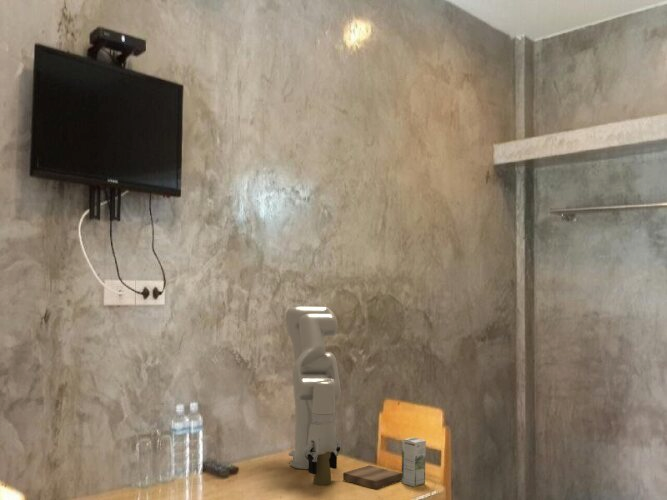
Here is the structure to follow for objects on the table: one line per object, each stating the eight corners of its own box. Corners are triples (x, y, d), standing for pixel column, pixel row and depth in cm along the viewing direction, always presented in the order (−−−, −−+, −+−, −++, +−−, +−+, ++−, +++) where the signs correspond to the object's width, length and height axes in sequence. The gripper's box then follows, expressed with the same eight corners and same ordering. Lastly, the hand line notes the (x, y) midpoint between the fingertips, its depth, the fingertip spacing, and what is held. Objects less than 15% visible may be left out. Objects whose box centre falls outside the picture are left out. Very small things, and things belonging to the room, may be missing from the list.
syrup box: (411, 480, 213) (412, 436, 215) (425, 484, 209) (426, 439, 210) (401, 483, 209) (401, 439, 211) (415, 487, 205) (415, 442, 206)
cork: (329, 486, 205) (330, 451, 206) (311, 484, 206) (312, 450, 207) (333, 480, 211) (333, 447, 212) (315, 479, 212) (316, 446, 213)
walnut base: (343, 480, 212) (343, 472, 212) (369, 472, 222) (369, 465, 222) (375, 489, 202) (375, 481, 203) (401, 480, 213) (401, 473, 213)
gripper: (332, 413, 219) (332, 464, 218) (297, 420, 207) (296, 473, 205) (349, 416, 214) (348, 468, 213) (313, 423, 202) (312, 478, 200)
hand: (322, 470), depth 209 cm, fingers open, 9 cm apart
